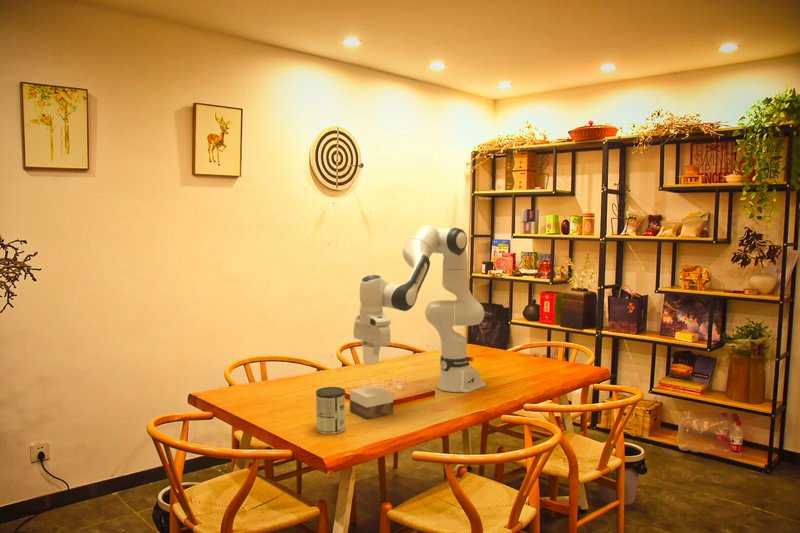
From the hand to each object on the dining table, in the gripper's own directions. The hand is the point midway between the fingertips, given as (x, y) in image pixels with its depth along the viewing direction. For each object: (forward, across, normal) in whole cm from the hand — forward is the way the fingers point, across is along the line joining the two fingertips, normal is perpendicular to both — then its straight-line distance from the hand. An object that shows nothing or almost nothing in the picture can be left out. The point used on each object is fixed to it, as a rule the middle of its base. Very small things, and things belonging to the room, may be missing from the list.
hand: (371, 353), depth 238 cm
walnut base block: (+24, 0, 0) cm, 24 cm away
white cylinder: (+4, 0, 0) cm, 4 cm away
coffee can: (+23, +7, -22) cm, 33 cm away
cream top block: (+19, 0, 0) cm, 19 cm away
